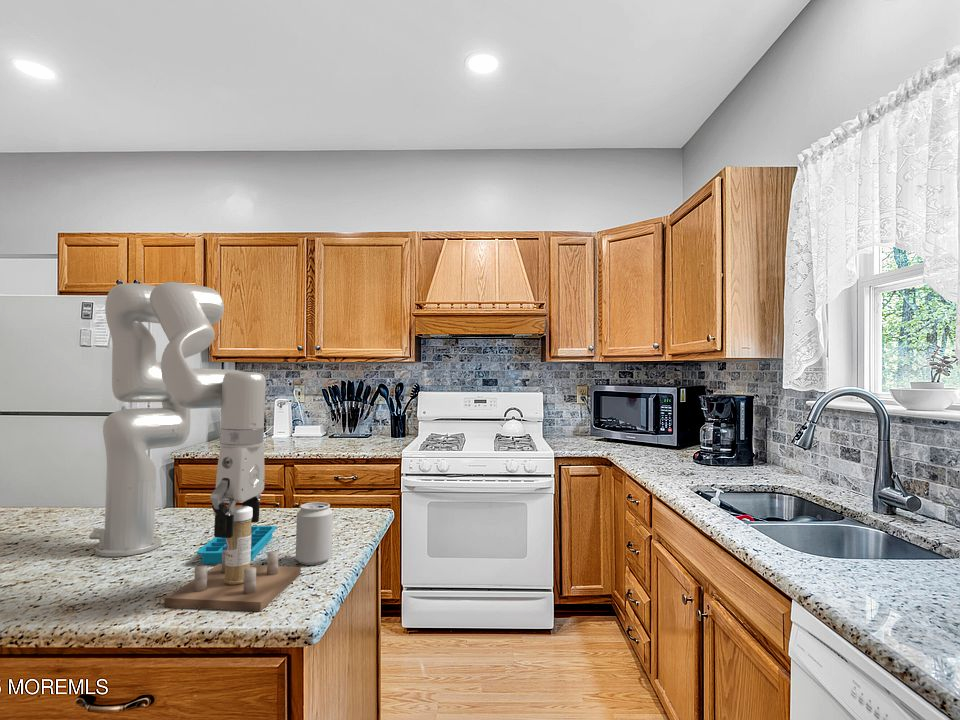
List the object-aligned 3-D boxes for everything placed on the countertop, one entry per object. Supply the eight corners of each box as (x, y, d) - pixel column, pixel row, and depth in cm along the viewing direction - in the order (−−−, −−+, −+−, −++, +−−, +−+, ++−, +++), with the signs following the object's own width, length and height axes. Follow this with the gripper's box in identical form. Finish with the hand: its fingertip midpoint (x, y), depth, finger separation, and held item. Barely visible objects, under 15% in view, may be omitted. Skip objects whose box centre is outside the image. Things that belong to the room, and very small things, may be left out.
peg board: (164, 606, 92) (165, 574, 92) (218, 571, 109) (219, 543, 109) (260, 611, 91) (261, 578, 91) (300, 574, 108) (301, 546, 108)
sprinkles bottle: (219, 581, 100) (221, 508, 100) (243, 574, 104) (245, 504, 104) (230, 587, 97) (233, 512, 98) (255, 580, 101) (257, 508, 101)
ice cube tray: (193, 567, 112) (194, 552, 112) (228, 538, 132) (228, 526, 132) (251, 566, 113) (252, 552, 113) (277, 537, 133) (277, 525, 134)
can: (338, 557, 119) (340, 502, 119) (317, 568, 112) (319, 510, 112) (310, 553, 121) (311, 499, 122) (287, 563, 114) (289, 506, 115)
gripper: (237, 444, 92) (232, 545, 92) (281, 433, 109) (277, 517, 109) (195, 442, 93) (190, 542, 92) (245, 431, 110) (241, 515, 110)
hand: (237, 529), depth 101 cm, fingers open, 9 cm apart
